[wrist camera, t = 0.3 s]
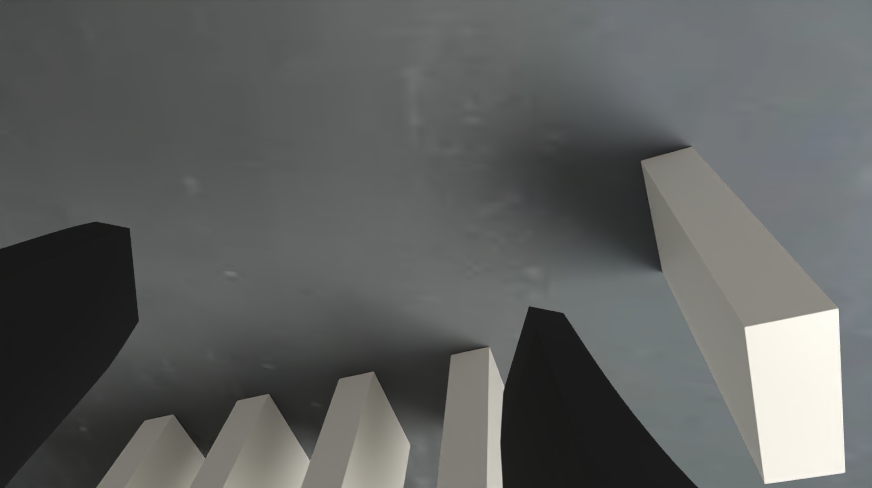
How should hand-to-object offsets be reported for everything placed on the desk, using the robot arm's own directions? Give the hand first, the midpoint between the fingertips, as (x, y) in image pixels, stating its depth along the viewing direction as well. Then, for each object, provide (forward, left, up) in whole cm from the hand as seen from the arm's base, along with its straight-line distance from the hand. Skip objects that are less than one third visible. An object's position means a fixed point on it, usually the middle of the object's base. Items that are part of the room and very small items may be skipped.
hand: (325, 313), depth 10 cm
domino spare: (-5, -8, -10) cm, 14 cm away
